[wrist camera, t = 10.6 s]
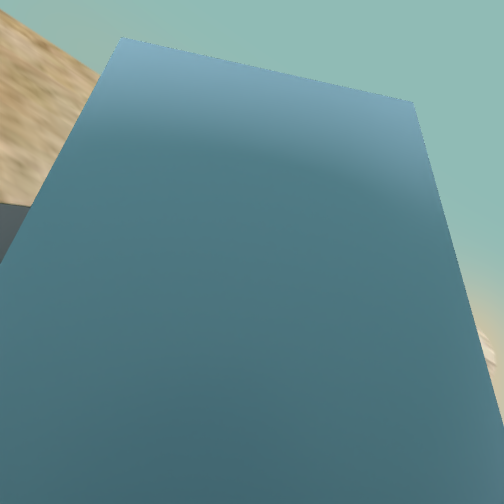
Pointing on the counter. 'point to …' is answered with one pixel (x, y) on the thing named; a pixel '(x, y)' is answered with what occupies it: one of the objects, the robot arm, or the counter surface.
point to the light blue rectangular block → (240, 303)
